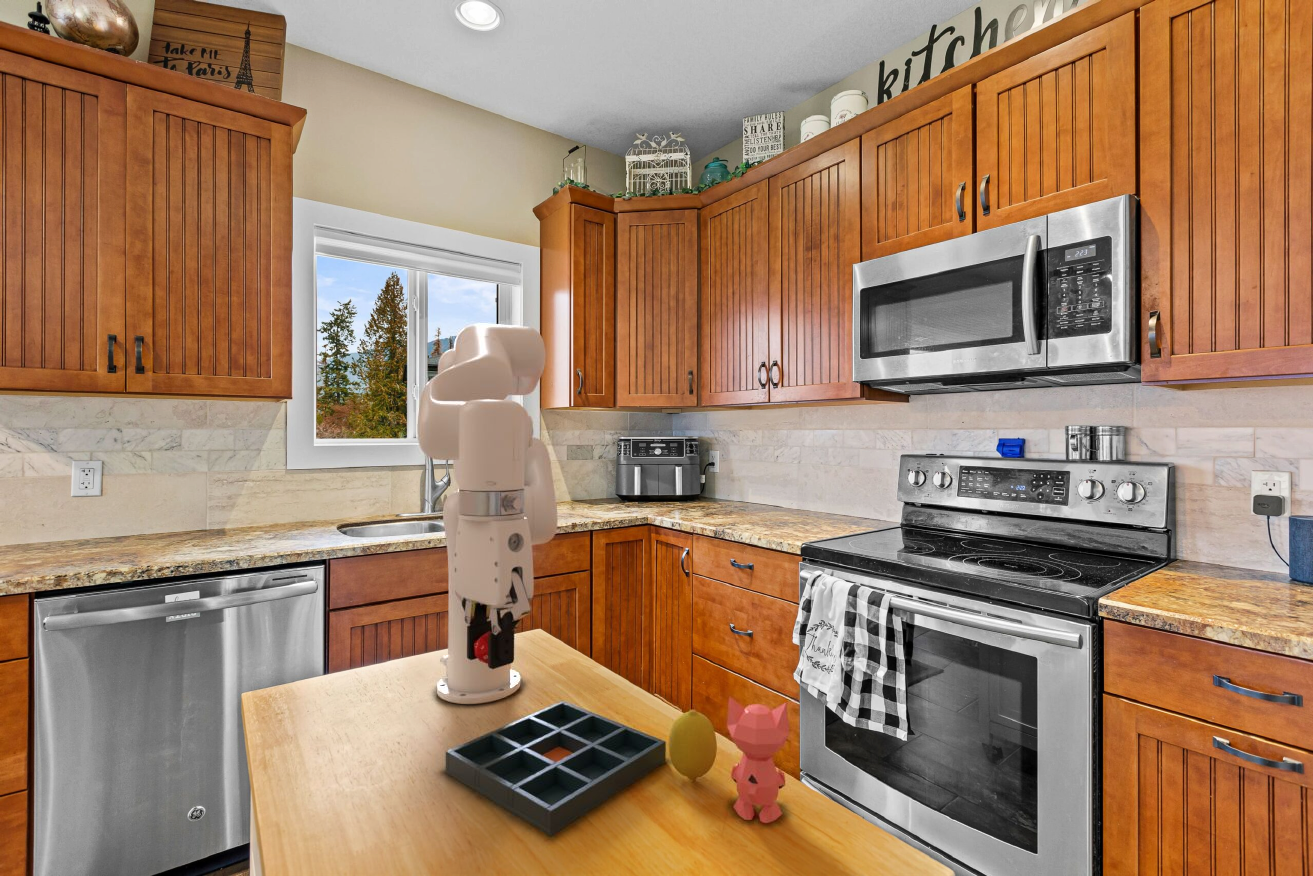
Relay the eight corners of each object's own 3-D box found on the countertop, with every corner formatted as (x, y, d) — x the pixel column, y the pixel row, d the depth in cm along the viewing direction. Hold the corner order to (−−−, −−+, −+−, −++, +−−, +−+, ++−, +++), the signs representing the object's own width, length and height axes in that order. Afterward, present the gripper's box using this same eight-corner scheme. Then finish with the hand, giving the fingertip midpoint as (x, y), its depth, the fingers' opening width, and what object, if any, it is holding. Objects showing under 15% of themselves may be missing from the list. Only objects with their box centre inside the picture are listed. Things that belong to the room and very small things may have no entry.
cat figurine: (792, 800, 67) (793, 689, 67) (790, 840, 60) (791, 716, 60) (727, 791, 68) (728, 683, 69) (718, 828, 62) (719, 708, 62)
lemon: (713, 796, 67) (714, 723, 67) (664, 790, 68) (664, 718, 69) (718, 770, 73) (719, 702, 73) (672, 765, 74) (673, 698, 74)
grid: (445, 772, 72) (445, 751, 72) (562, 718, 86) (562, 700, 86) (550, 837, 60) (550, 811, 60) (665, 761, 75) (666, 741, 75)
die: (461, 656, 71) (481, 629, 70) (475, 646, 74) (494, 620, 74) (485, 676, 70) (505, 649, 70) (497, 665, 74) (517, 640, 73)
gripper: (562, 507, 70) (561, 669, 70) (479, 498, 81) (478, 638, 80) (507, 513, 64) (505, 689, 64) (425, 502, 75) (424, 653, 75)
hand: (490, 659), depth 72 cm, fingers closed on die, 3 cm apart
